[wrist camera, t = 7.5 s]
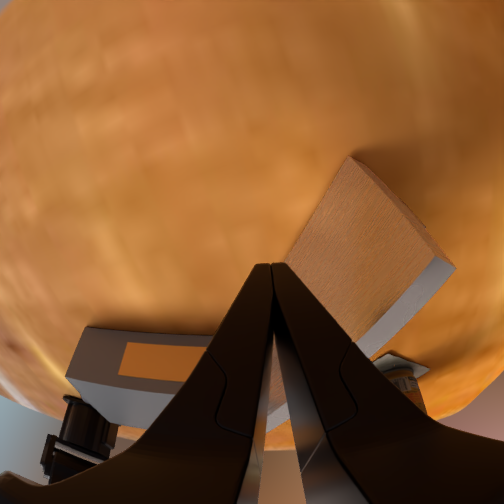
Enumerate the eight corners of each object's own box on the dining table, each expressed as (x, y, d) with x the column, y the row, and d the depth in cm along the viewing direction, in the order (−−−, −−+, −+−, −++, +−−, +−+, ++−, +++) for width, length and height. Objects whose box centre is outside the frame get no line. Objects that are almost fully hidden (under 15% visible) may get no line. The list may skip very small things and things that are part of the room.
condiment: (376, 401, 27) (396, 496, 17) (325, 390, 24) (341, 511, 14) (429, 367, 23) (462, 470, 13) (386, 350, 20) (424, 488, 10)
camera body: (109, 379, 23) (92, 445, 17) (66, 314, 17) (29, 396, 12) (255, 389, 23) (256, 466, 17) (256, 323, 17) (259, 434, 12)
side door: (347, 155, 11) (435, 255, 5) (377, 172, 12) (467, 275, 6) (245, 321, 17) (245, 431, 11) (270, 327, 17) (276, 435, 12)
